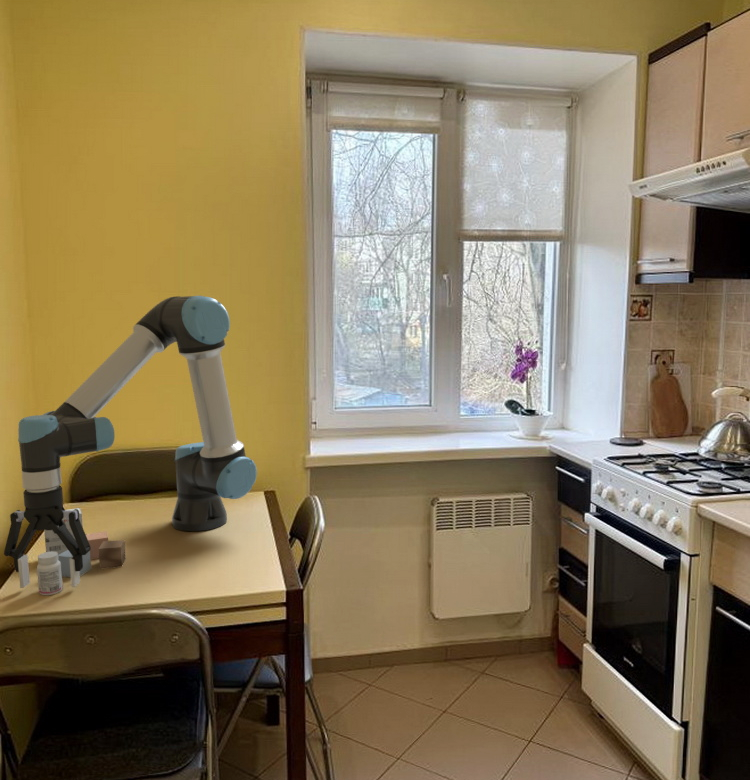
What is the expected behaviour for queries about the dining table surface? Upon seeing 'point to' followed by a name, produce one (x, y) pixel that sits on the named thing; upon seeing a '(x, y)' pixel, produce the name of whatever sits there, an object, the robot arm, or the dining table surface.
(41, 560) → the pill bottle
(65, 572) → the slate blue cube
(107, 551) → the walnut cube
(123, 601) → the dining table surface
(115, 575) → the dining table surface
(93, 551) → the terracotta cube
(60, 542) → the ink box
